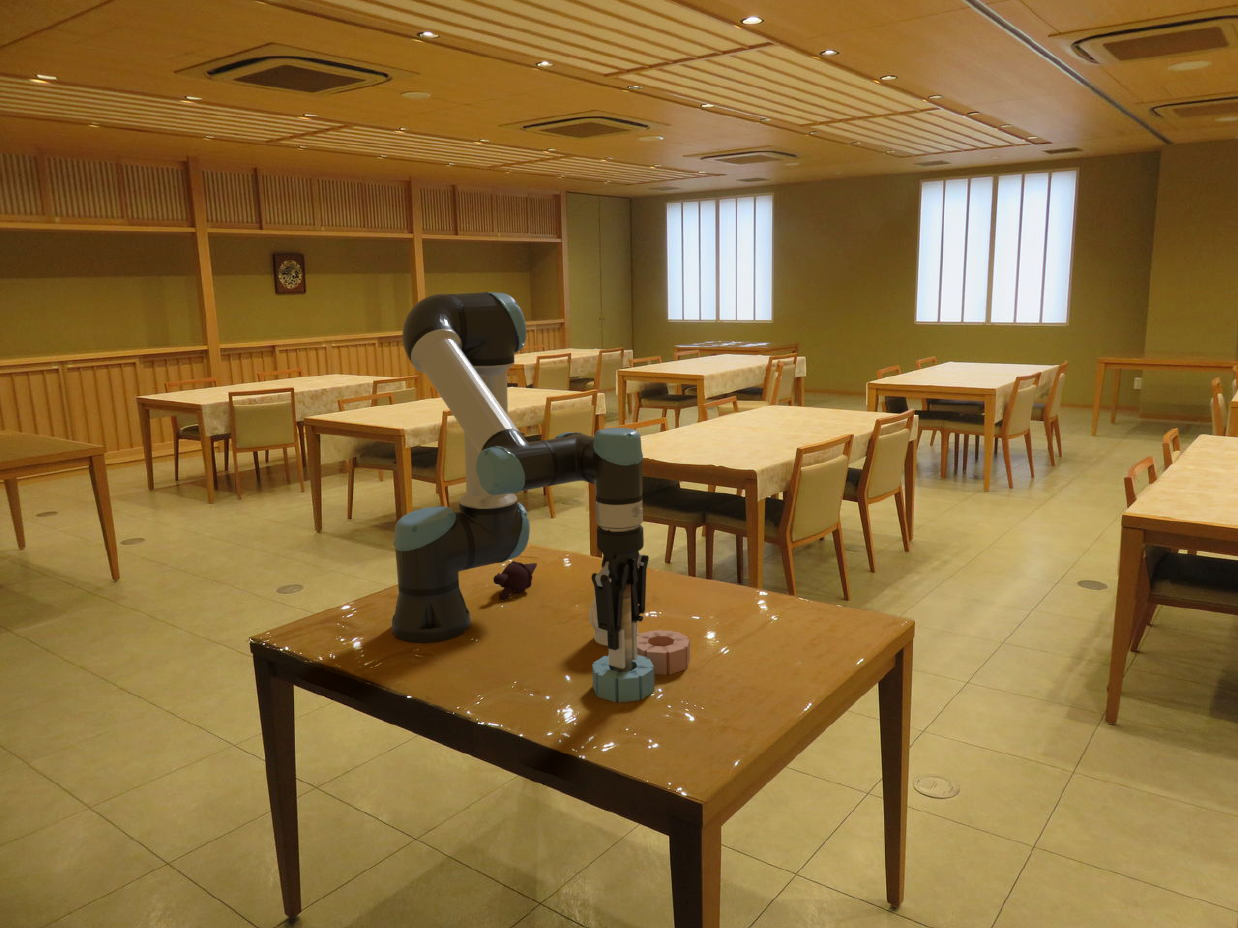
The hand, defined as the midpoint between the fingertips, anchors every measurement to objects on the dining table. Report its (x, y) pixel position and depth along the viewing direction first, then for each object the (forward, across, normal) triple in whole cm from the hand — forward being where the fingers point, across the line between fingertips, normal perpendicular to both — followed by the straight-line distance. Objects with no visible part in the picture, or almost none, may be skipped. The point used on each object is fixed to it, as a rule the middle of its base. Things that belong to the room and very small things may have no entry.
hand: (623, 661), depth 150 cm
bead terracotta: (+5, +12, 0) cm, 13 cm away
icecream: (+5, +27, +46) cm, 54 cm away
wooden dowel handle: (+3, 0, 0) cm, 3 cm away
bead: (+5, 0, 0) cm, 5 cm away
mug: (+5, +15, +13) cm, 21 cm away
